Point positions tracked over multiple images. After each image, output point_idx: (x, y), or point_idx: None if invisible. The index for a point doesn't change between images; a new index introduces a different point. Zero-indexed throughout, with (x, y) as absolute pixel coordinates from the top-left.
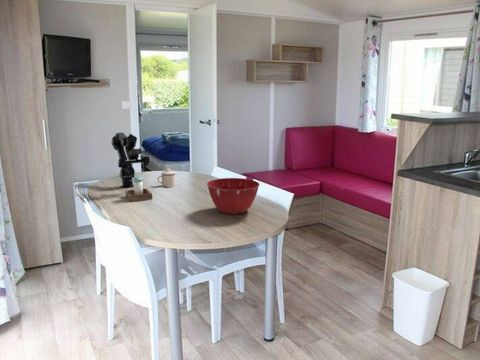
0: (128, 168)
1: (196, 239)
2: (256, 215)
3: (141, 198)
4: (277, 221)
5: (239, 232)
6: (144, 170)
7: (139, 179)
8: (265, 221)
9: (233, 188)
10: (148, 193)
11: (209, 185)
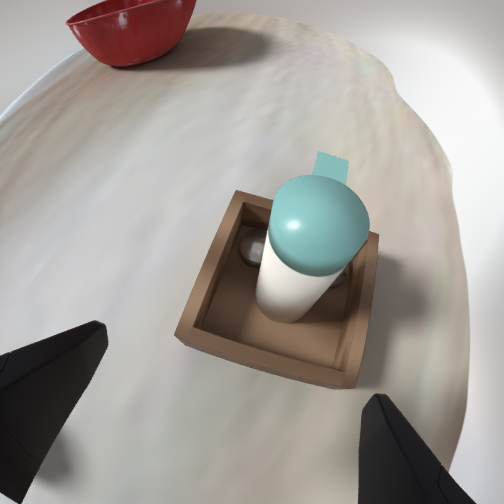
0: (412, 454)
1: (311, 30)
2: None
3: None
4: None
5: (238, 19)
6: (99, 328)
7: (331, 160)
8: None
9: (81, 42)
10: (254, 204)
11: (151, 10)
